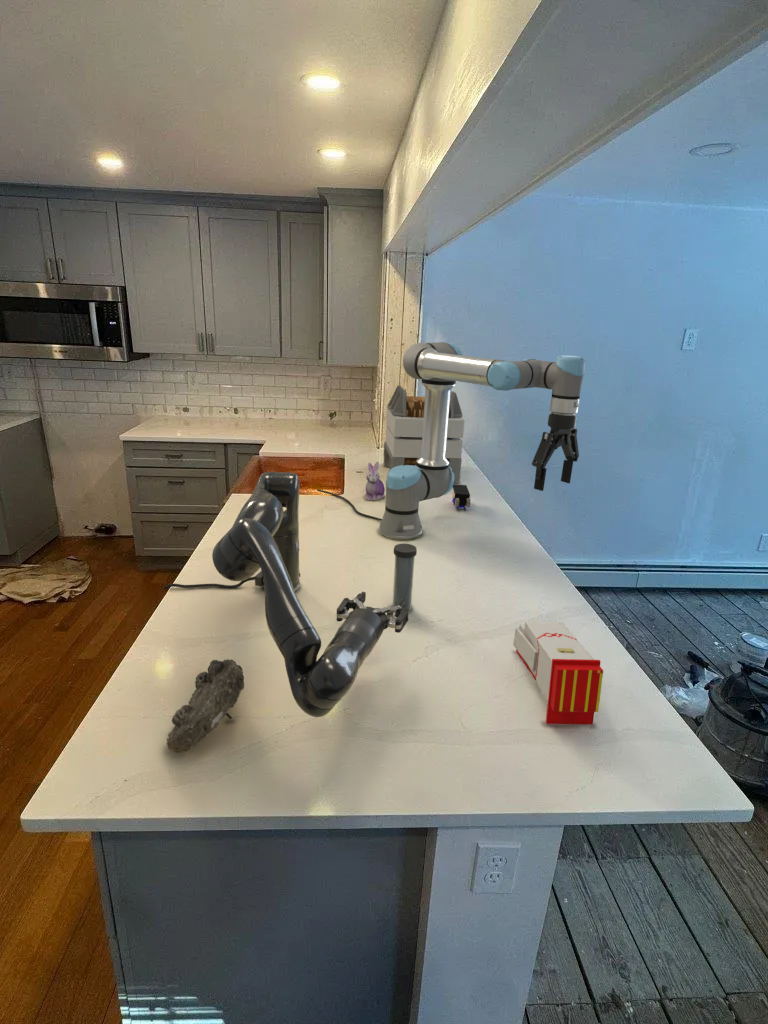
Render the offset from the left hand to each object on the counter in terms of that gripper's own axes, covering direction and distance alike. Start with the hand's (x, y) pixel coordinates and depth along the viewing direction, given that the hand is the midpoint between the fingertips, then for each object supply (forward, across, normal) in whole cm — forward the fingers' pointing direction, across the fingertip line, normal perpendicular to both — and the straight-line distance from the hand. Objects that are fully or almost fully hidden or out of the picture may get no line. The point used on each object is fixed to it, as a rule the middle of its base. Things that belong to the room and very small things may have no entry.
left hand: (382, 598), depth 123 cm
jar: (+24, -2, -15) cm, 28 cm away
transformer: (+154, -29, -13) cm, 157 cm away
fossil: (-29, -24, -15) cm, 41 cm away
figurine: (+109, -37, -14) cm, 116 cm away
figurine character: (+113, -2, -14) cm, 114 cm away
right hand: (+61, +32, +13) cm, 70 cm away
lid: (+24, -2, +2) cm, 24 cm away
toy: (+5, +36, -16) cm, 40 cm away
